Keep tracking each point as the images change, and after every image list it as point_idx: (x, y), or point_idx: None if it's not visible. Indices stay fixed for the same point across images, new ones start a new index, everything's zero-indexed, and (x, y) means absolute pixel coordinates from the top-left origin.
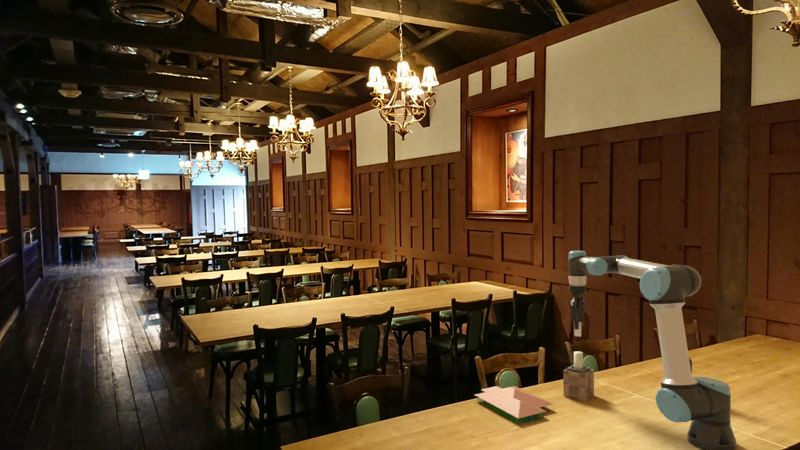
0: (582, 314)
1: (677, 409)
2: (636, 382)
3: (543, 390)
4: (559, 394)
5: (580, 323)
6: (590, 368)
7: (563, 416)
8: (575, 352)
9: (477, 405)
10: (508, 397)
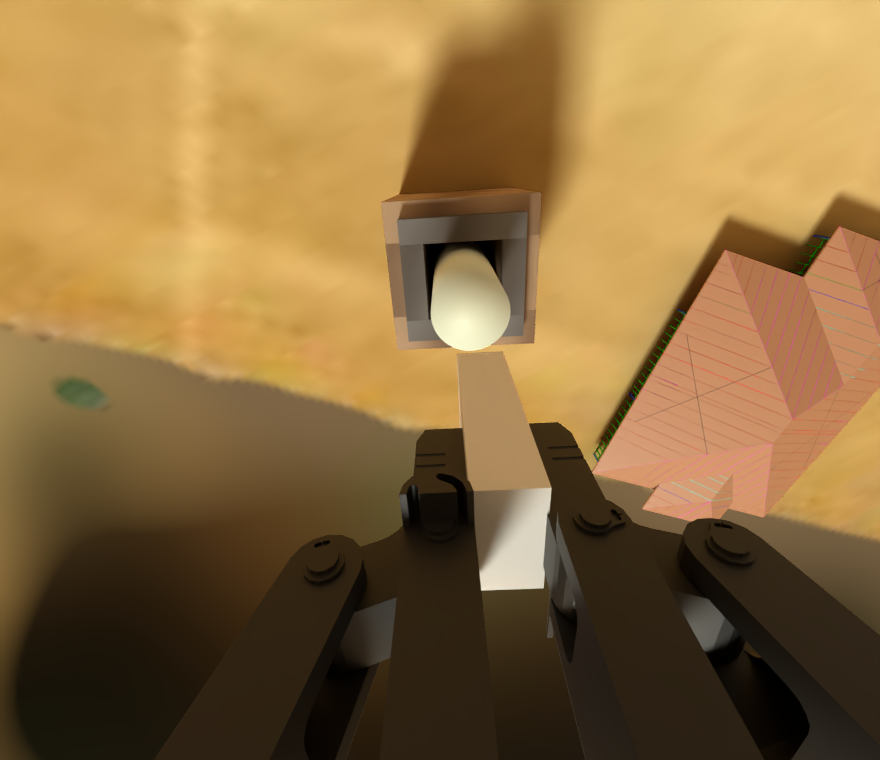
0: (307, 694)
1: None
2: (19, 100)
3: None
4: None
5: (507, 470)
6: (402, 218)
7: (760, 171)
8: (485, 332)
9: None
10: (833, 404)
